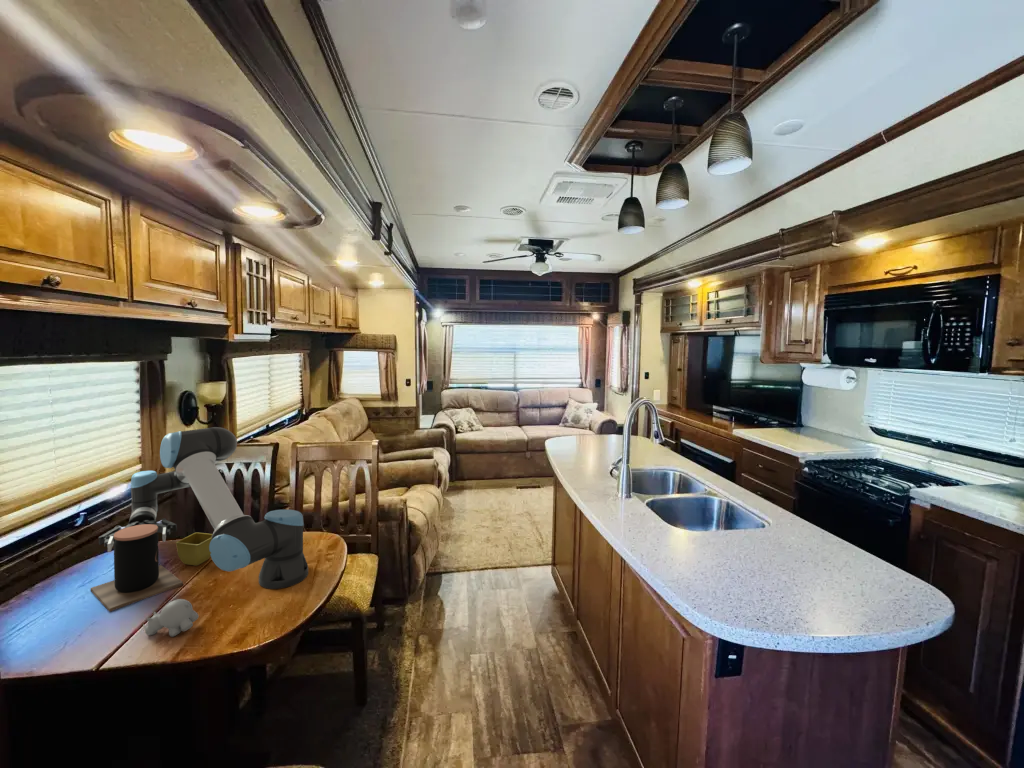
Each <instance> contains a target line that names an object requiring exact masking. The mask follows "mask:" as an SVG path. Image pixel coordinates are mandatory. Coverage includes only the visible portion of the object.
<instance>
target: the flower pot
mask: <svg viewBox="0 0 1024 768" xmlns="http://www.w3.org/2000/svg"><path fill="white" fill-rule="evenodd" d="M212 534H213V533H206V532H205V533H204V532H194V533H192V534H190V535H188V536H186V537H184V538H181V539H179V540H177V541H176V542H175V545H176V549H177V550H176V551H177V556H178V558H179V560H180V562H182V563H183V564H184V565H189V566H195V567H196V566H197V567H198V566H199V565H201V564H203V563H204V562H207V560H209V559H210V557H211V555H210V554H211V552H210V551H209V545H210V542H211V540H212Z"/></svg>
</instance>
